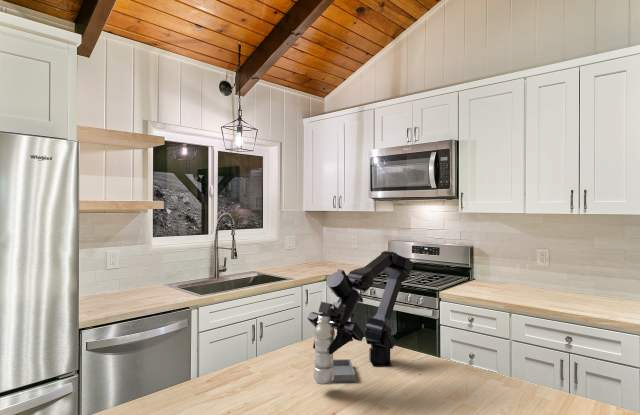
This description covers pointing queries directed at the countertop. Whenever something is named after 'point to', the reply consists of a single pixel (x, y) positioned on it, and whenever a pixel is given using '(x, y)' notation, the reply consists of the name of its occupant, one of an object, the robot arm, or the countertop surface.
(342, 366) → the gray tray
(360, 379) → the countertop surface
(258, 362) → the countertop surface
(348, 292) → the robot arm
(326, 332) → the plastic bottle
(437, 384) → the countertop surface
